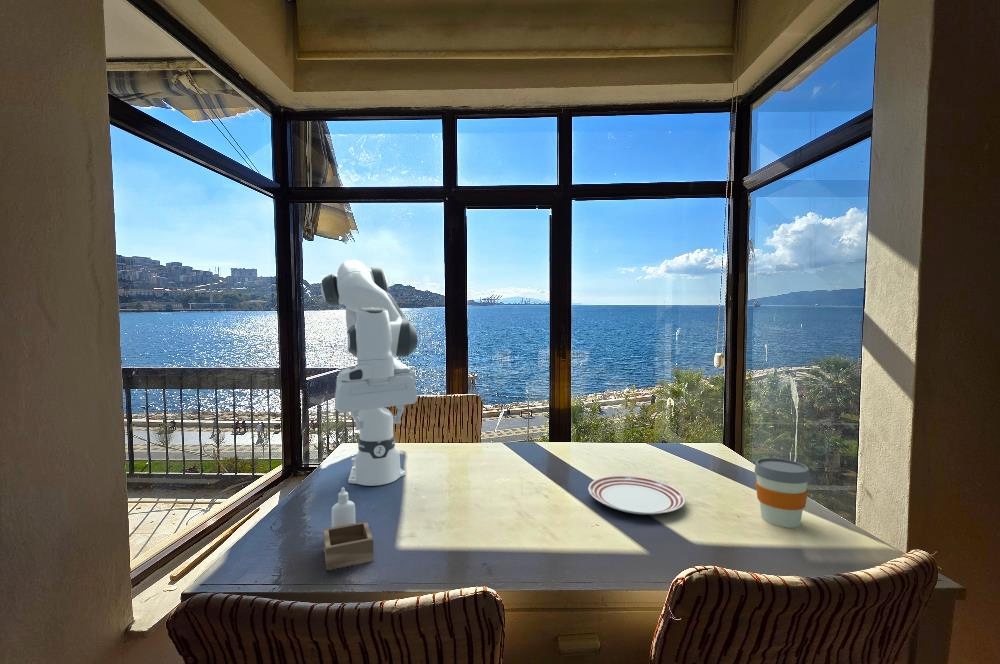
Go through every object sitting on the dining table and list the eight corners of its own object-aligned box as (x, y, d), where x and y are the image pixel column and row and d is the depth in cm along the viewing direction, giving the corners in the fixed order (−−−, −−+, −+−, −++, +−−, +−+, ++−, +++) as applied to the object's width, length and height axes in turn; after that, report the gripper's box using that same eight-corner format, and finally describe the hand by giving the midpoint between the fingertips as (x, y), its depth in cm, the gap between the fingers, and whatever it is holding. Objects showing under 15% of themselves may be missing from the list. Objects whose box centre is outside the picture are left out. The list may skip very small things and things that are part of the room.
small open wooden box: (324, 549, 110) (323, 529, 110) (367, 541, 114) (367, 521, 114) (326, 571, 101) (326, 548, 100) (373, 560, 105) (373, 539, 104)
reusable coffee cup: (790, 535, 115) (791, 476, 115) (743, 515, 126) (744, 461, 126) (818, 524, 121) (820, 467, 121) (771, 506, 132) (772, 454, 132)
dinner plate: (687, 492, 143) (687, 482, 143) (682, 530, 119) (682, 517, 119) (599, 479, 155) (599, 470, 155) (577, 512, 130) (577, 500, 130)
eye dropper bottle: (334, 531, 119) (333, 485, 118) (356, 529, 120) (355, 484, 119) (330, 539, 115) (329, 492, 114) (354, 537, 116) (353, 490, 115)
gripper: (410, 367, 125) (413, 418, 124) (331, 374, 114) (334, 430, 113) (419, 367, 119) (422, 421, 119) (337, 374, 108) (340, 433, 108)
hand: (378, 425), depth 116 cm, fingers open, 8 cm apart
